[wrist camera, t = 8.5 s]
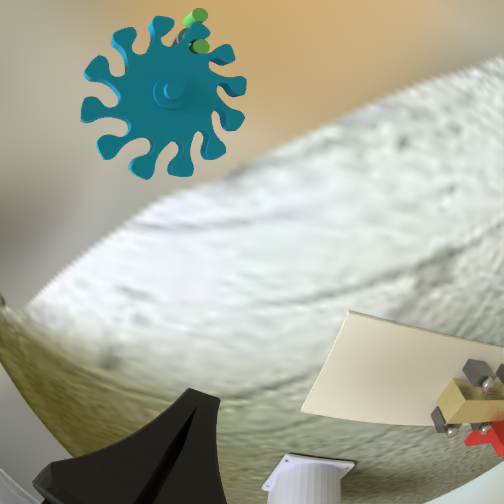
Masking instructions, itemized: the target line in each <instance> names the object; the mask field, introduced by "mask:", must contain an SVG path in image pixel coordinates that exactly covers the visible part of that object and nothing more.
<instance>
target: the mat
mask: <svg viewBox="0 0 504 504" xmlns="http://www.w3.org/2000/svg"><path fill="white" fill-rule="evenodd" d="M468 359H474V360H480V361H485V362H486V363H487V365H488V366H489V367H490V368H491V370H492V371H493V372H494V374H495V373H496V371H497V370H498V368H499V366H500V365H501V363H502V364H504V347H502V346H498V345H493V344H488V343H483V342H478V341H474V340H469V339H464V338H460V337H455V336H451V335H446V334H442V333H438V332H433V331H429V330H425V329H420V328H416V327H412V326H408V325H404V324H400V323H396V322H392V321H388V320H384V319H380V318H376V317H372V316H368V315H364V314H360V313H356V312H352V311H349V310H348V312H347V315H346V317H345V320H344V322H343V324H342V327H341V329H340V331H339V333H338V336H337V338H336V340H335V342H334V344H333V347H332V349H331V351H330V353H329V355H328V357H327V359H326V361H325V364H324V366H323V368H322V370H321V372H320V374H319V376H318V378H317V380H316V382H315V384H314V385H313V387H312V389H311V391H310V393H309V395H308V397H307V399H306V401H305V402H304V404H303V406H302V408H301V411H302V412H307V413H312V414H318V415H323V416H329V417H335V418H342V419H349V420H356V421H365V422H374V423H385V424H398V425H419V426H435V425H434V422H433V420H432V418H431V415H430V414H431V413H432V412H433V411H434V409H435V408H436V407H437V406H438V404H437V402H436V401H437V399H438V398H439V397H440V395H441V394H442V392H443V391H444V389H445V388H446V386H447V385H448V383H449V382H450V380H451V379H452V378H457V379H467V380H468V378H467V377H466V375H465V374H464V372H463V371H462V369H463V367H464V365H465V364H466V362H467V361H468ZM495 375H496V374H495ZM496 376H497V375H496ZM494 382H501V381H500V379H499V378H498V377H497V378H496V379H495V381H494ZM462 425H470V423H462Z"/></svg>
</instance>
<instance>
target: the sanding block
mask: <svg viewBox="0 0 504 504" xmlns="http://www.w3.org/2000/svg"><path fill="white" fill-rule="evenodd" d="M436 402H437V404H438V406H439V408H440V410H441V412H442V414H443V416H444V419H445V421H446V423H447V424H461V423H480V422H492V421H501V420H504V385H503V383H502V382H495V385H494V387H493V388H492V390H490V391H489V392H487V393H484V391H483V390H482V388H481V387H473V386H472V384H471V383H470V381H469V380H467V379H457V378H452V379H451V380H450V382H449V383H448V385H447V386H446V388H445V389H444V391H443V392H442V394H441V395H440V397H439V398H438V399H437V401H436Z"/></svg>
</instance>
